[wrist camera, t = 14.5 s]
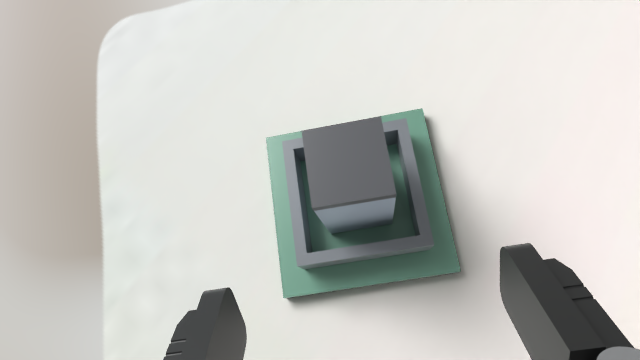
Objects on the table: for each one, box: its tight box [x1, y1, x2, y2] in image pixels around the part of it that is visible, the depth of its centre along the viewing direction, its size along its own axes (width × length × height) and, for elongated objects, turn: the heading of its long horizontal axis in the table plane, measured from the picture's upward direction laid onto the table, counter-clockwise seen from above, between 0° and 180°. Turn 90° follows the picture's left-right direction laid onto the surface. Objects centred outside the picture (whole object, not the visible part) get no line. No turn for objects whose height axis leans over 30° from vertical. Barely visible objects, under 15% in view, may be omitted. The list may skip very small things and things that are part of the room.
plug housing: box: [302, 116, 396, 234], centre depth 21 cm, size 4×4×7 cm
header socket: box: [266, 109, 461, 298], centre depth 24 cm, size 10×10×3 cm
